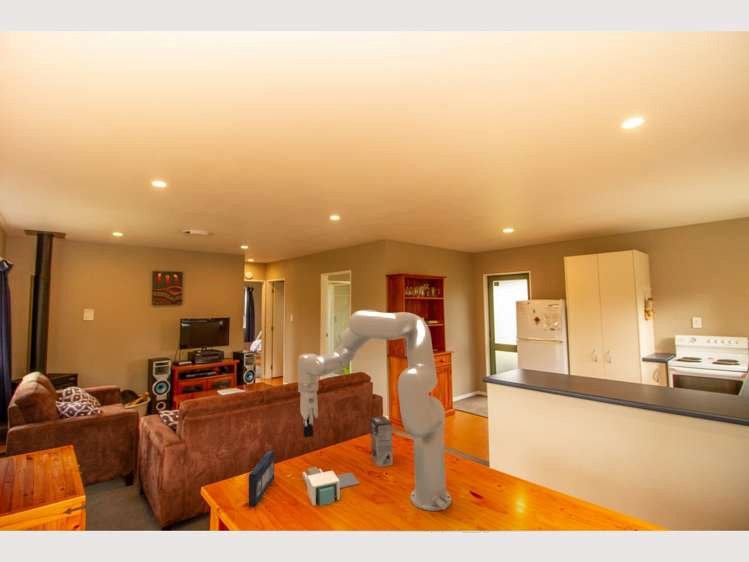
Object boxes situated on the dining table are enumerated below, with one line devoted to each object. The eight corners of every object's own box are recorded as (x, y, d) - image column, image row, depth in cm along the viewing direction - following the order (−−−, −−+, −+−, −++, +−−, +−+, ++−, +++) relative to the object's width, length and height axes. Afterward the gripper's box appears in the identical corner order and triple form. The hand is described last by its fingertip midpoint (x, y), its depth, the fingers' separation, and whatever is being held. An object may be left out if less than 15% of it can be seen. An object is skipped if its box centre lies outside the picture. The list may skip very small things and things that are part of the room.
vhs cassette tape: (256, 507, 112) (256, 474, 112) (246, 507, 112) (246, 474, 112) (275, 479, 130) (275, 450, 131) (267, 479, 130) (267, 450, 131)
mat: (359, 484, 124) (359, 483, 124) (334, 490, 121) (334, 488, 121) (350, 473, 132) (350, 472, 132) (327, 478, 129) (327, 477, 129)
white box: (339, 499, 115) (339, 480, 115) (313, 506, 111) (313, 486, 112) (323, 473, 133) (323, 457, 133) (300, 478, 130) (300, 461, 130)
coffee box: (370, 458, 146) (369, 417, 147) (385, 455, 148) (384, 415, 149) (377, 467, 137) (376, 424, 138) (393, 464, 139) (392, 422, 140)
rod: (326, 494, 119) (326, 483, 119) (317, 496, 117) (317, 485, 118) (316, 476, 131) (316, 466, 132) (308, 478, 130) (308, 468, 130)
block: (334, 502, 113) (334, 487, 113) (320, 506, 111) (320, 491, 112) (330, 495, 117) (330, 481, 118) (316, 499, 115) (316, 484, 116)
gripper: (322, 390, 132) (323, 441, 131) (313, 382, 146) (313, 428, 144) (302, 392, 129) (302, 444, 128) (294, 384, 143) (294, 431, 141)
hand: (308, 436), depth 136 cm, fingers closed
